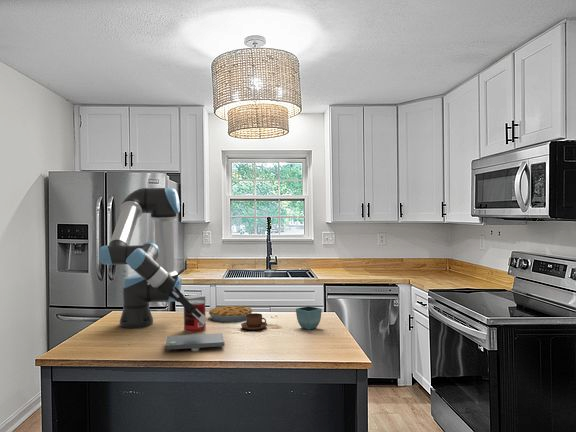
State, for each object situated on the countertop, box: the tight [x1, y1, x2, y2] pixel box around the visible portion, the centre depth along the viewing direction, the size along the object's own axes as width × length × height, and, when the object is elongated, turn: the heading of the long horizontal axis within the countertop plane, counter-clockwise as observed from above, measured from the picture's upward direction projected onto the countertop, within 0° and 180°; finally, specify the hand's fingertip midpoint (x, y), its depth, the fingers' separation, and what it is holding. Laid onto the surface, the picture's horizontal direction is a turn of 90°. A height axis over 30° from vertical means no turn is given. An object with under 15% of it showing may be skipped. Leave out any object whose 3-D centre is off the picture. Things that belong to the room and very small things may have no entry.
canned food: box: [184, 300, 206, 333], centre depth 186 cm, size 8×8×11 cm
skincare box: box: [183, 293, 207, 334], centre depth 212 cm, size 8×7×16 cm
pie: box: [208, 305, 253, 323], centre depth 238 cm, size 22×22×5 cm
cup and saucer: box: [240, 312, 268, 331], centre depth 216 cm, size 12×12×6 cm
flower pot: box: [295, 305, 323, 330], centre depth 215 cm, size 9×9×9 cm
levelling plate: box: [165, 332, 226, 352], centre depth 186 cm, size 14×22×3 cm, turn 102°
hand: (203, 319), depth 187 cm, fingers closed on canned food, 8 cm apart
